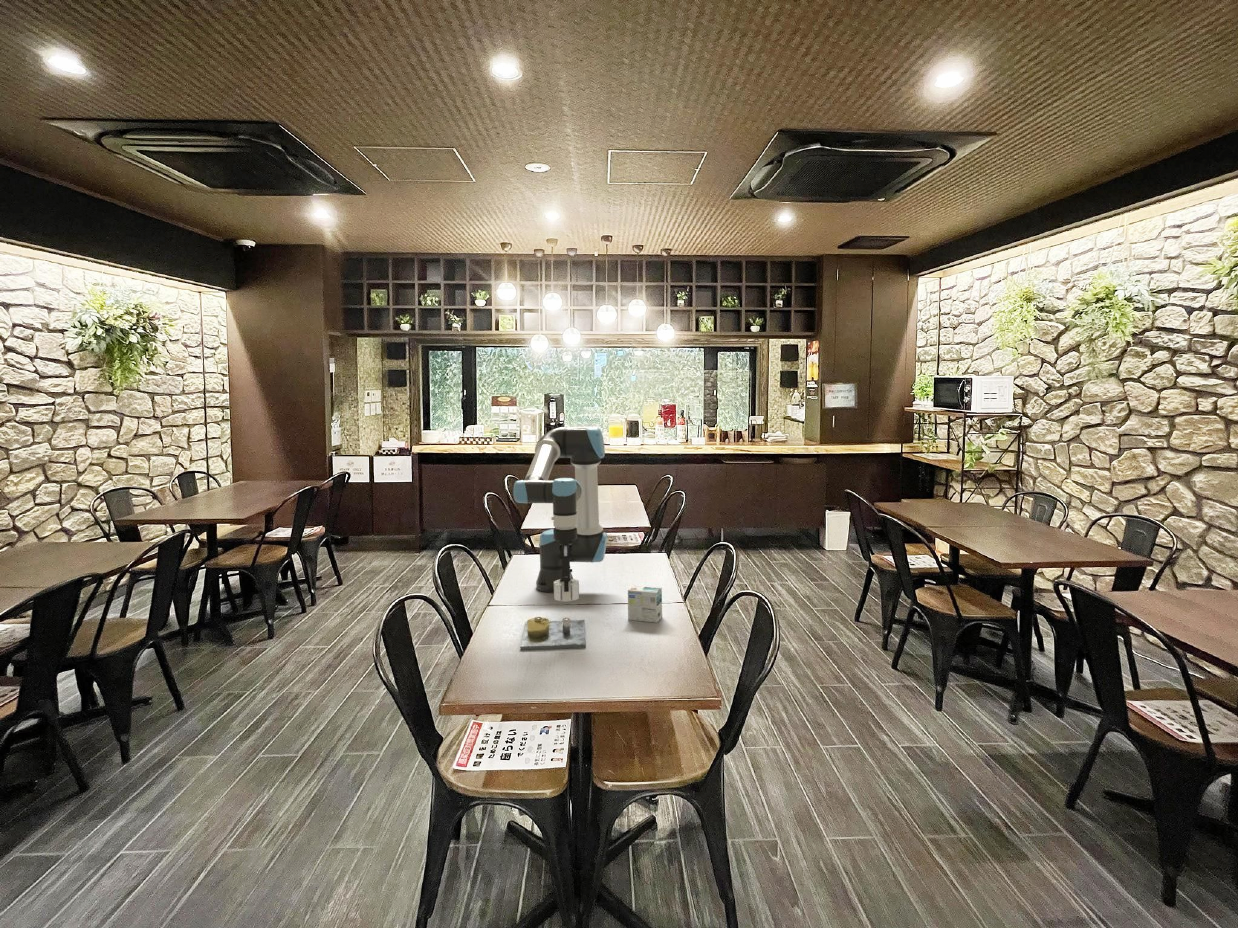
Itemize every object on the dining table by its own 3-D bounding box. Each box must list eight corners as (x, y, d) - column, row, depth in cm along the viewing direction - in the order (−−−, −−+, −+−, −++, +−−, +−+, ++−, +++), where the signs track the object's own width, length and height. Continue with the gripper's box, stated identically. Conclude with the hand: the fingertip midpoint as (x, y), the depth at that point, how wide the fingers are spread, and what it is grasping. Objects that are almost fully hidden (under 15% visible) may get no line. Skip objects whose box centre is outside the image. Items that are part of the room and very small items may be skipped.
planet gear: (554, 593, 229) (554, 579, 228) (578, 593, 230) (578, 578, 229) (553, 601, 221) (553, 586, 220) (579, 600, 222) (579, 585, 221)
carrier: (525, 625, 237) (524, 607, 236) (584, 623, 238) (584, 605, 237) (520, 650, 215) (519, 630, 214) (585, 647, 216) (585, 628, 216)
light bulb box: (662, 616, 244) (662, 586, 242) (657, 623, 237) (657, 592, 236) (633, 613, 247) (633, 584, 246) (627, 620, 241) (627, 589, 240)
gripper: (554, 520, 233) (555, 587, 235) (552, 534, 212) (554, 607, 215) (576, 520, 233) (577, 586, 236) (577, 534, 212) (578, 606, 215)
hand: (566, 596), depth 225 cm, fingers closed on planet gear, 8 cm apart
